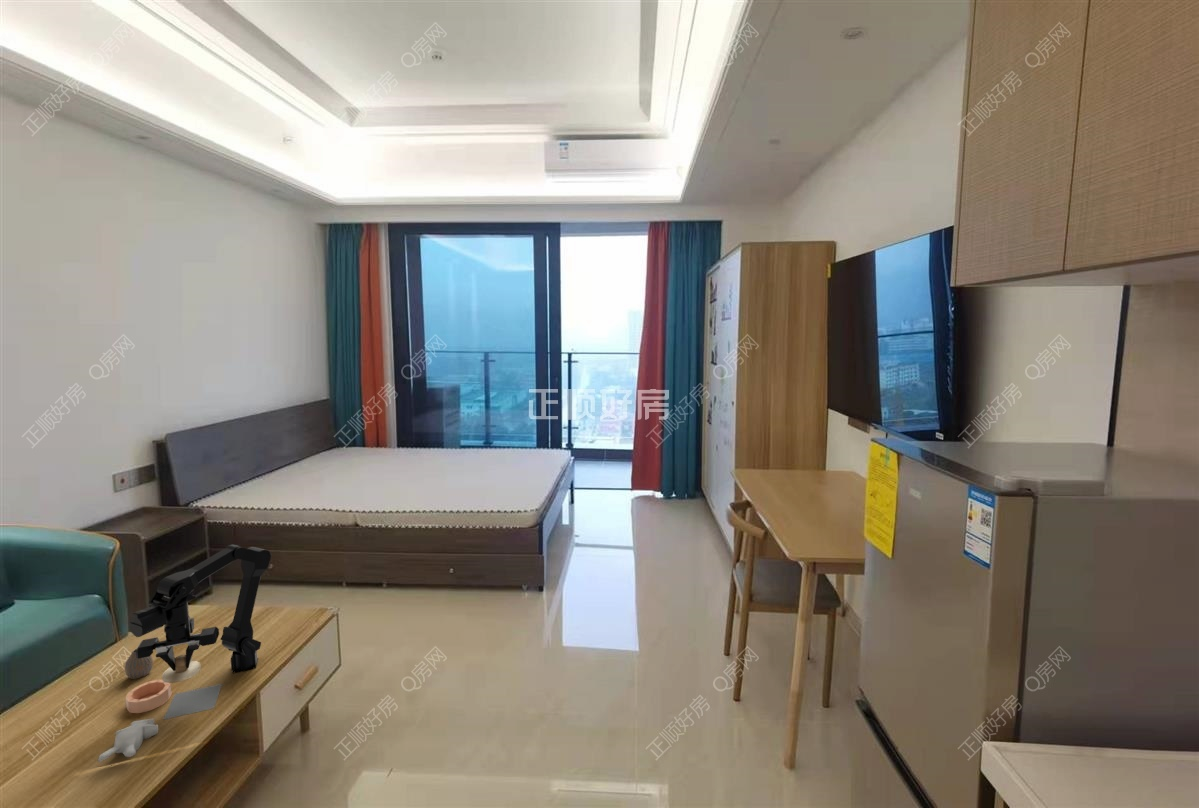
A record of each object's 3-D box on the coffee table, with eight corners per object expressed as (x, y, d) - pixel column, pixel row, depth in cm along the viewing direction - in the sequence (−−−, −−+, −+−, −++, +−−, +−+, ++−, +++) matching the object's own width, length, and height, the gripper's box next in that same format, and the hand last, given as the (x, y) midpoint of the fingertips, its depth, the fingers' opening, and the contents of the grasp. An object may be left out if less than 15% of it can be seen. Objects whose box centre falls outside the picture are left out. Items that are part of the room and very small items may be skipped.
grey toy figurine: (165, 711, 154) (136, 744, 140) (166, 728, 154) (137, 763, 140) (125, 716, 152) (91, 751, 137) (126, 734, 152) (92, 771, 137)
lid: (203, 661, 168) (202, 645, 167) (197, 677, 160) (195, 662, 159) (167, 668, 164) (165, 653, 163) (158, 686, 156) (157, 670, 155)
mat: (222, 685, 171) (222, 683, 171) (213, 710, 160) (213, 708, 160) (175, 695, 166) (175, 693, 166) (163, 721, 156) (162, 719, 155)
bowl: (175, 688, 170) (174, 676, 169) (165, 709, 161) (163, 696, 160) (134, 696, 165) (133, 684, 165) (122, 718, 156) (120, 705, 156)
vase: (137, 683, 171) (134, 657, 170) (120, 680, 173) (117, 655, 172) (159, 670, 178) (156, 645, 177) (142, 667, 180) (139, 642, 178)
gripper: (220, 600, 171) (224, 646, 173) (145, 612, 163) (150, 661, 165) (213, 617, 161) (217, 666, 163) (132, 631, 153) (138, 683, 155)
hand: (181, 668), depth 162 cm, fingers closed on lid, 3 cm apart
